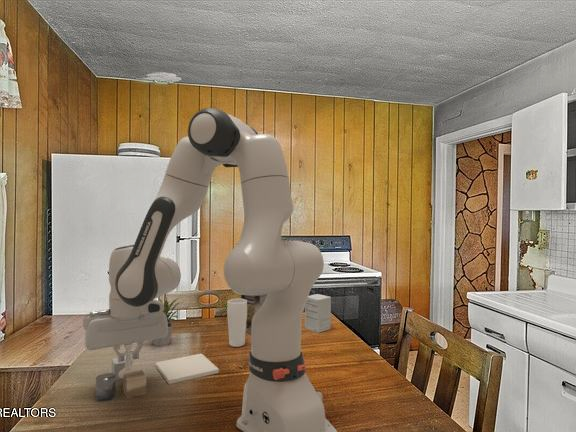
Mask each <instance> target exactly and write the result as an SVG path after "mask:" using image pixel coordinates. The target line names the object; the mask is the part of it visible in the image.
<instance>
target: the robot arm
mask: <svg viewBox="0 0 576 432" xmlns="http://www.w3.org/2000/svg"><path fill="white" fill-rule="evenodd" d="M286 162H287V161H286V158H285V155H284V152H283V149H282V146H281V144H280V142H279V140H278V139H277V138H276V137H275V136H273V135H270V134H267V133H258V132H257V130H255V128H253V127H252V126H249V125H248V124H246V123H245V122H244V121H242V119H239V118H238V117H235V116H233V115H232V114H229V113H227V112H225V111H224V110H221V109H218V108H214V107H213V108H212V107H209V108H202V109H200V110H198V111H197V112H196V113H194V115H192V117H191V118H190V121H189V123H188V127H187V136H183V138H181V139H180V140H179V141H178V142H177V145H175V148H174V150H173V152H172V154H171V157H170V159H169V161H168V164H167V168H166V170H165V173H164V176H163V179H162V183H161V185H160V187H159V190H158V192H157V194H156V197H155V199H154V200H153V202H152V204H151V205H150V207H149V209H148V211H147V212H146V215H145V217H144V219H143V222H142V224H141V227H140V230H139V232H138V234H137V237H136V239H135V242H134V244H130V245H125V246H119V247H116V248H114V250H112V252H111V253H110V257H109V264H108V282H109V283H108V284H109V286H110V292H109V294H108V295H109V296H108V305H109V306H108V307H109V308H108V309H103V310H99V311H91V312H90V311H89V313H87V314H86V315H85V316H84V317H83V320H82V322H83V323H82V324H83V325H82V327H83V329H84V330H85V332H84V347H85V349H87V351H95V350H102V349H107V348H112V349H113V351H114V352H115V353H116V355H117V358H118V362H123V361H125V359H124V358H125V356H126V355H125V354H124V352H122V353H121V352H120V351H119V350H120V349H121V346H123V345H124V344H130V343H132V344H134V343H135V344H136V348H135V350H131V351H132V352H133V353H132V354H131V360H132V361H134V360H138V359H140V352H141V349H142V348H143V346H144V342H146V341H151V340H152V341H153V339H158V338H164V337H166V336H167V334H168V323H169V322H168V321H167V317H166V314H165V313H164V312H162V311H163V310H164V303H163V302H162V303H163V304H162V303H161V302H160V300H159V298H160V297H162V296H163V297H164V295H167V294H170V293H171V292H172V291H174V290H175V289H177V288H178V287H179V285H180V282H181V277H182V276H181V275H182V274H181V270H180V267H179V265H178V264H177V262H176V261H174V259H171V258H168V257H163V256H161V254H162V252H163V250H164V247H165V244H166V241H167V239H168V237H169V234H170V233H171V232H172V230H173V229H175V227H176V226H177V225H178V224H180V223H181V222H183V220H185V219H187V218H189V217H190V216H192V215H194V214H196V213H197V212H198V211H199V209H200V208H201V206H202V204H203V203H204V201H205V198H206V196H207V194H208V190H209V186H210V183H211V180H212V177H213V173H214V172H215V170H216V169H217V167H219V166H221V165H222V166H224V167H225V168H238V171H239V177H240V179H239V180H240V187H241V195H242V204H243V206H242V207H243V224H242V225H243V226H242V230H241V234H240V236H239V238H238V241H237V243H236V244H235V245H234V247H233V248H232V250H230V252H229V253H227V256H226V259H225V261H224V265H223V276H224V280H225V282H226V284H227V285H228V286H227V287H228V288H229V289H230V290H231V291H232V292H233V293H235V294H237V295H240V296H241V295H256V296H258V295H263V294H267V297H266V299H265V301H264V303H263V305H262V306H261V307H260V308H259V309H258V311H257V312H256V313H255V314H254V316H253V318H252V328H251V333H250V334H251V335H250V336H251V338H250V340H251V342H250V344H251V345H250V346H251V348H250V349H251V350H250V352H249V355H248V356H249V357H248V370H249V372H250V373H249V375H248V378H247V380H246V382H245V383H244V386H243V393H242V394H243V395H242V406H241V408H242V409H241V415H240V416H239V417H238V418H237V420H236V424H235V425H236V427H237V428H238V429H239V430H241V431H242V432H338V430H337V429H336V428H335V427H334V425H332V423H330V421H329V420H328V419H327V418H326V411H325V406H324V402H323V400H324V398H323V397H324V396H323V393H322V392H321V391H316V389H315V387H314V386H313V384H312V381H311V380H310V379H309V378H308V375H307V373H306V371H307V370H308V367H307V366H308V363H305V358H304V355H303V352H302V347H301V345H302V344H301V343H302V341H301V340H302V320H303V315H304V312H305V304H306V301H307V298H308V296H310V292H311V290H312V288H313V286H314V284H315V283H316V281H317V280H319V278H320V277H321V275H322V274H323V270H324V268H325V267H324V258H323V257H324V256H323V254H322V252H321V250H320V248H318V246H317V245H315V244H313V243H311V242H307V241H302V240H286V241H283V240H282V230H283V226H284V224H285V223H286V222H287V221H288V220H289V219H290V218H291V216H292V215H293V213H294V205H293V198H292V191H291V185H290V184H291V183H290V177H289V172H288V167H287V163H286ZM158 297H159V298H158ZM157 299H158V300H157Z"/></svg>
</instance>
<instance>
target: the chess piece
mask: <svg viewBox="0 0 576 432" xmlns="http://www.w3.org/2000/svg"><path fill="white" fill-rule="evenodd" d="M132 346H133V343H130V344H124V348H125V351H124V352H123V353H124V355H125V356H126V363H125V368H124V369H123V370H121V371H119V375H118V376H119V377H120V378H124V373H129V372H134V371H139V369H138V368H137V367H134V366H133V363H132V364H131V360H132V356H131V355H132V353H133V352H132V351H133V350H131V349H132Z"/></svg>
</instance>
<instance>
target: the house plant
mask: <svg viewBox="0 0 576 432" xmlns="http://www.w3.org/2000/svg"><path fill="white" fill-rule="evenodd" d="M181 298H183V297H182V296H181V297H177V298H175V299H174V300H172V301H168V297H167V296H165V297H164V301H162V299H161V298H160V297H158V298H157V299H158V301H160V302H161V303H162V304H163V305H164V310H163V311H162V312H164V313H165V314H166V317H167V321H168V334H167V336H166V337H164V338H158V339H153V340H152V342H153V345H154V346H156V347H163V346H168V345H169V344H170V343H171V337H172V333H173V327H174V326H173V325H174V324H173V323H172V322H170V321H175V320H176V319H175V318H177V319H178V315H177V312H179V311H180V309H178V310H175V311H174V309H175V308H176V307H177V306H178V305H179V304H183V303H184V302H182V301H178V302H177V300H179V299H181ZM170 302H171V303H170ZM175 302H177V303H175ZM173 311H174V312H173ZM175 322H176V321H175Z"/></svg>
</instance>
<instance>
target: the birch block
mask: <svg viewBox="0 0 576 432" xmlns="http://www.w3.org/2000/svg"><path fill="white" fill-rule="evenodd" d="M123 392H124V395H125V397H126V399H129V398H134V397H138V396H143V395H146V394H147V375H146V373H145V371H144V370H143V369H140V370H139V369H138V371H134V372H129V373H124V379H123Z"/></svg>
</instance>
